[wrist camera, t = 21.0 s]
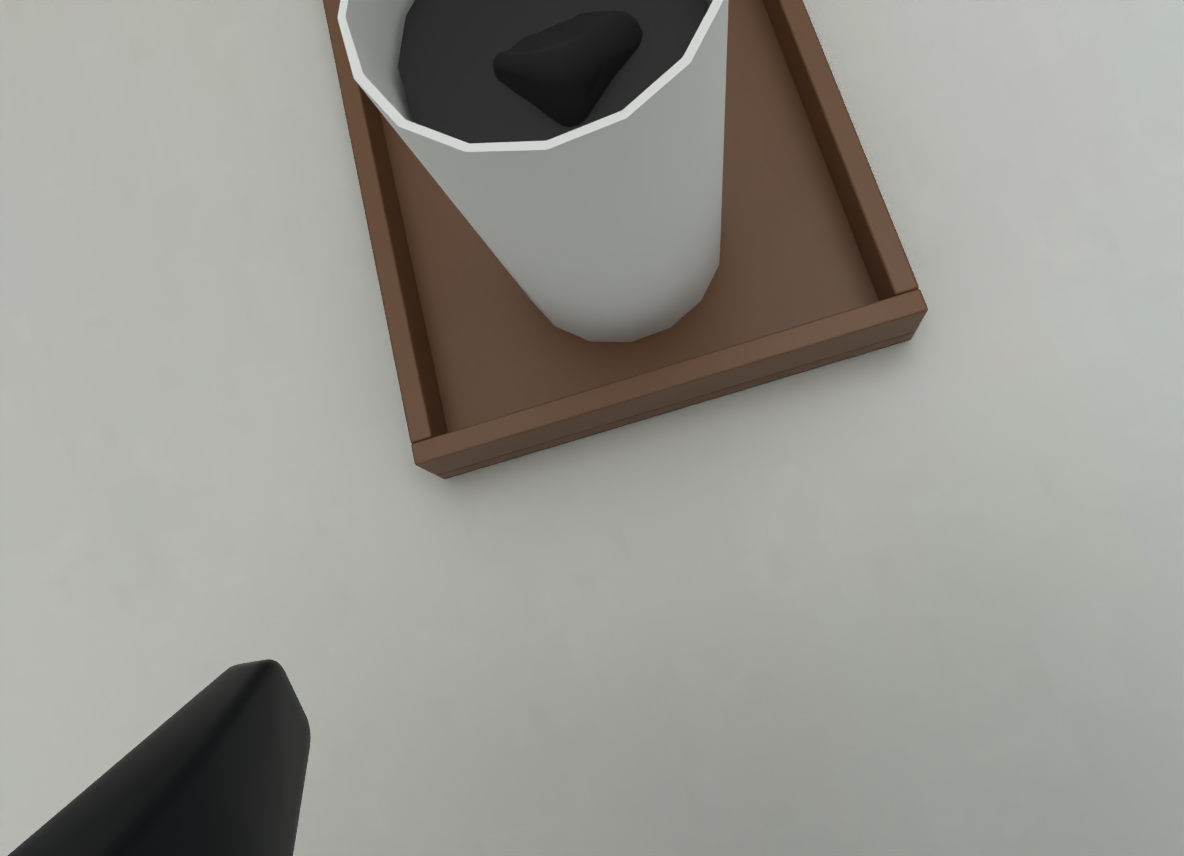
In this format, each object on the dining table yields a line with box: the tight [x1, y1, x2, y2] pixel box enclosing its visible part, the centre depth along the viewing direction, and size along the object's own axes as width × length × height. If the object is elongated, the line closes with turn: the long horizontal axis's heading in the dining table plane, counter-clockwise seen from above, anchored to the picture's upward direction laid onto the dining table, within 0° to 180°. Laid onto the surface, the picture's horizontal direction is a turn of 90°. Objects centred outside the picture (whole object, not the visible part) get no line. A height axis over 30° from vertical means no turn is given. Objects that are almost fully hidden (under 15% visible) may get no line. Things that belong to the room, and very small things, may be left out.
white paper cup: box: [337, 0, 729, 342], centre depth 18 cm, size 7×7×10 cm
